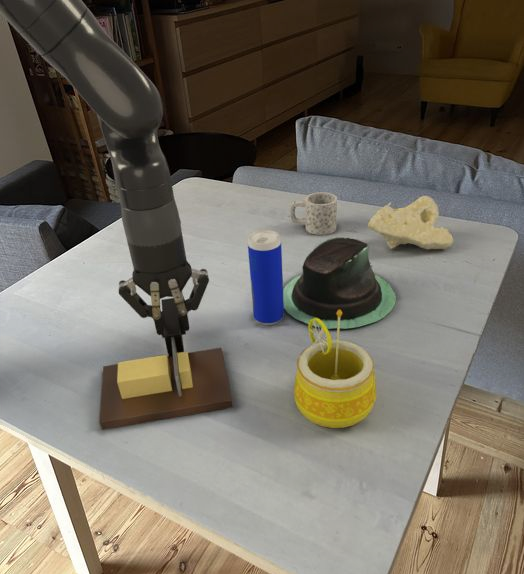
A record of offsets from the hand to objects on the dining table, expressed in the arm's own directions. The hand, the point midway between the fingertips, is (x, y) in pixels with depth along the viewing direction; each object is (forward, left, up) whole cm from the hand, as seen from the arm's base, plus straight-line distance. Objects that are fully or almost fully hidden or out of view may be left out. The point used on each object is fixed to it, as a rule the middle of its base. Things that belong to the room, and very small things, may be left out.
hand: (174, 332), depth 83 cm
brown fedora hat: (+29, +8, -3) cm, 30 cm away
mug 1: (+32, +36, -3) cm, 48 cm away
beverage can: (+16, +5, -3) cm, 17 cm away
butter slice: (+1, -9, -2) cm, 10 cm away
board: (-2, -9, -3) cm, 10 cm away
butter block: (-5, -9, -2) cm, 11 cm away
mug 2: (+21, -17, -3) cm, 27 cm away
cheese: (+47, +21, -3) cm, 51 cm away
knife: (0, -5, -1) cm, 5 cm away
